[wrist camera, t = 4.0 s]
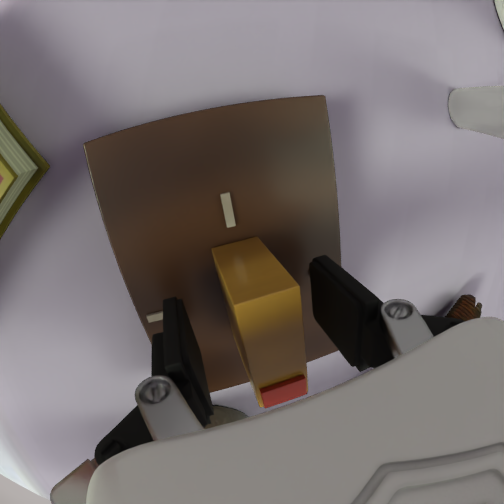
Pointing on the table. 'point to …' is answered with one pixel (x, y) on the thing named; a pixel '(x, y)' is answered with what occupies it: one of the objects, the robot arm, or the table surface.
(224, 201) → the lock plate
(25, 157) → the hardcover book
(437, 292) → the table surface
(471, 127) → the milkshake
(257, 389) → the thumbturn
